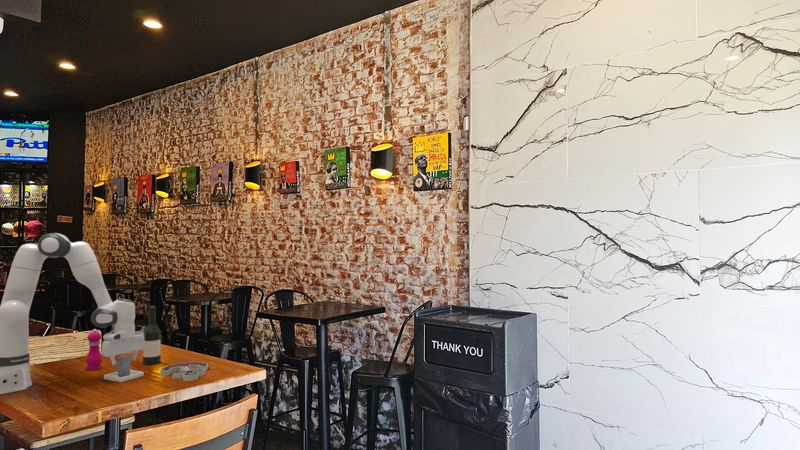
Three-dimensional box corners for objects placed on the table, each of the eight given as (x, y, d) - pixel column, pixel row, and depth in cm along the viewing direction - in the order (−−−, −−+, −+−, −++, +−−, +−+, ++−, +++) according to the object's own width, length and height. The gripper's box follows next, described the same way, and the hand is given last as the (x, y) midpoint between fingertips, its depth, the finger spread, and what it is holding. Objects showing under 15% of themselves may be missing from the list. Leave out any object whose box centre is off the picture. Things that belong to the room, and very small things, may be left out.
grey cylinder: (122, 377, 245) (122, 358, 246) (115, 376, 248) (115, 357, 248) (132, 375, 250) (132, 356, 250) (125, 374, 252) (125, 355, 253)
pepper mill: (96, 370, 262) (97, 330, 263) (82, 370, 262) (83, 330, 263) (105, 367, 269) (105, 327, 270) (91, 366, 269) (91, 327, 270)
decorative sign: (204, 359, 275) (217, 372, 250) (204, 365, 275) (217, 378, 250) (157, 364, 264) (166, 378, 238) (157, 370, 264) (166, 385, 238)
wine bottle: (143, 362, 279) (143, 305, 280) (160, 361, 283) (161, 304, 283) (142, 366, 272) (143, 307, 272) (160, 364, 275) (161, 306, 276)
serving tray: (120, 382, 241) (120, 377, 241) (103, 379, 246) (103, 374, 246) (143, 376, 252) (143, 372, 252) (127, 373, 257) (127, 369, 257)
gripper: (139, 329, 260) (139, 357, 260) (99, 336, 242) (99, 366, 242) (148, 330, 257) (147, 359, 257) (108, 337, 239) (107, 368, 239)
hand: (123, 362), depth 249 cm, fingers open, 8 cm apart
